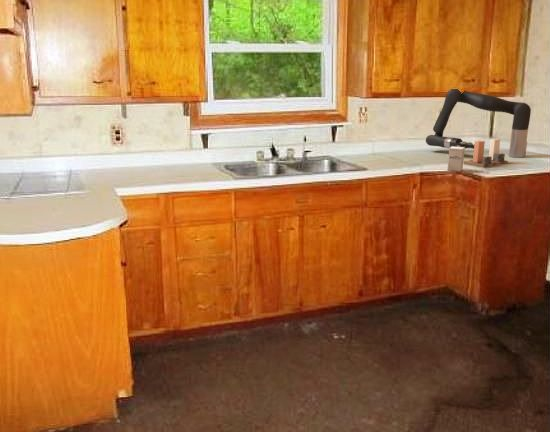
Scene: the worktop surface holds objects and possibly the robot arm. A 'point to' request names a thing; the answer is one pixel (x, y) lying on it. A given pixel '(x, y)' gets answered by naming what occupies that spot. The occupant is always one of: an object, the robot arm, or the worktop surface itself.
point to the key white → (494, 148)
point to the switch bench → (488, 161)
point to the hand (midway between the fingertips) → (475, 146)
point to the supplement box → (456, 158)
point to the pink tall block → (478, 151)
